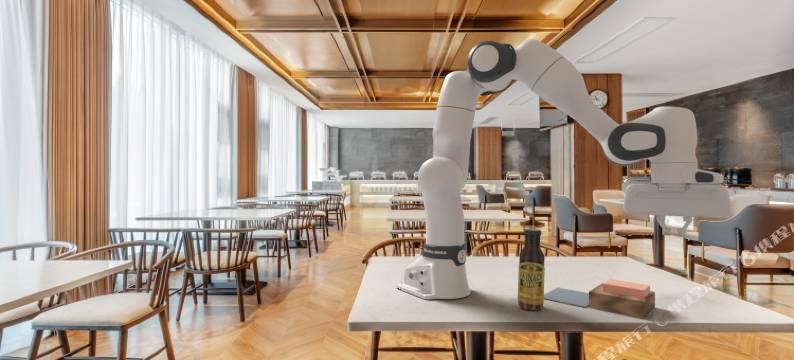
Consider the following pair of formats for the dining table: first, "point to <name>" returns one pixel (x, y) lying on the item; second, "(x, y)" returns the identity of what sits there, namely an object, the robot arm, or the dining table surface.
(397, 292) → the dining table surface
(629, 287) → the pink rectangular block
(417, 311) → the dining table surface
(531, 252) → the sauce bottle
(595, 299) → the block
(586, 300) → the mat
